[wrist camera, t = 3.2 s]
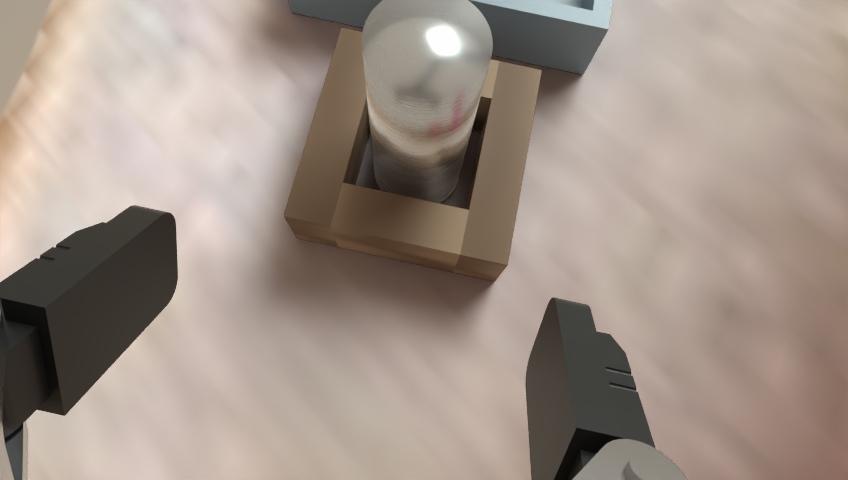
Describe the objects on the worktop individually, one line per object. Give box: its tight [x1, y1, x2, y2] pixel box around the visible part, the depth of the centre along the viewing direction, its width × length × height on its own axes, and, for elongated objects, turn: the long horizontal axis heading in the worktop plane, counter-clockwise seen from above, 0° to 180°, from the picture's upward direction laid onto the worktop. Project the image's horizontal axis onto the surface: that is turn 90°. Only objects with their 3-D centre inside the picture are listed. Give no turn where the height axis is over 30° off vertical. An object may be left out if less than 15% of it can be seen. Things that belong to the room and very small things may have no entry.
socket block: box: [284, 27, 542, 281], centre depth 25 cm, size 9×9×3 cm
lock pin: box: [362, 0, 493, 203], centre depth 22 cm, size 4×4×10 cm
